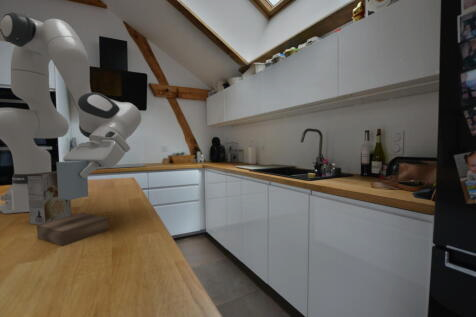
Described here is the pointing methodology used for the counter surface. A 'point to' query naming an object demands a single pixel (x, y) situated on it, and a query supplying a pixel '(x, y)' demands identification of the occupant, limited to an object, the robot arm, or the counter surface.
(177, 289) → the counter surface
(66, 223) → the walnut slab
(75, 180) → the slate block
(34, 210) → the coffee box
